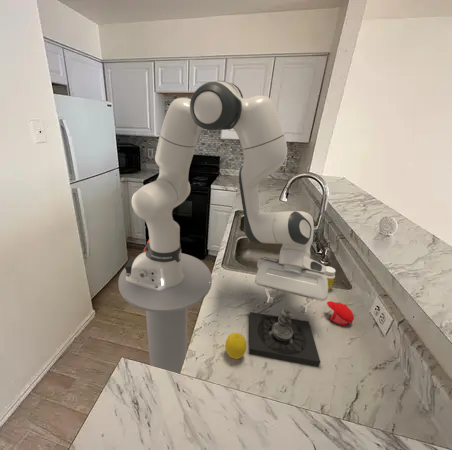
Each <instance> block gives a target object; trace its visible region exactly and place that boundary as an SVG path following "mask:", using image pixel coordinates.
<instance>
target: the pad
mask: <svg viewBox="0 0 452 450" xmlns="http://www.w3.org/2000/svg"><path fill="white" fill-rule="evenodd" d="M279 317H280V315H273V314H265V313H259V312H253V311H249V314H248V350H249V351H248V353H249V354H250V355H255V356H260V357H266V358H270V359H277V360H280V361H281V360H282V361H286V362H291V363H297V364H303V365H308V366H314V367H319V366H320V363H321V358H320V356H319V352H318V348H317V344H316V341H315V338H314V335H313V331H312V327H311V324H310V323H311V322H310V320H303V319H296V318H291V325H289V327H290V328H291V329H292V331H293V336H292V337H291V339H292V342H290V343H289V345H282V344H279V343H277V342H275V341H274V340H273V339H272V338H271V334H270V331H272V325H273V324H275V323H278V322H279V321H278V318H279Z"/></svg>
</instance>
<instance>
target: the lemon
mask: <svg viewBox="0 0 452 450" xmlns="http://www.w3.org/2000/svg"><path fill="white" fill-rule="evenodd" d="M224 347H225V352H226V354H227V355H228V356H229V357H230V358H232V359H234V360H238V359H241V358H243V357H244V356H245V354H246V352H247V340H246V338H245V337H244V335H242V334H241V333H239V332H232V333H230V334H229V335H228V336H227V338H226V340H225V345H224Z"/></svg>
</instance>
